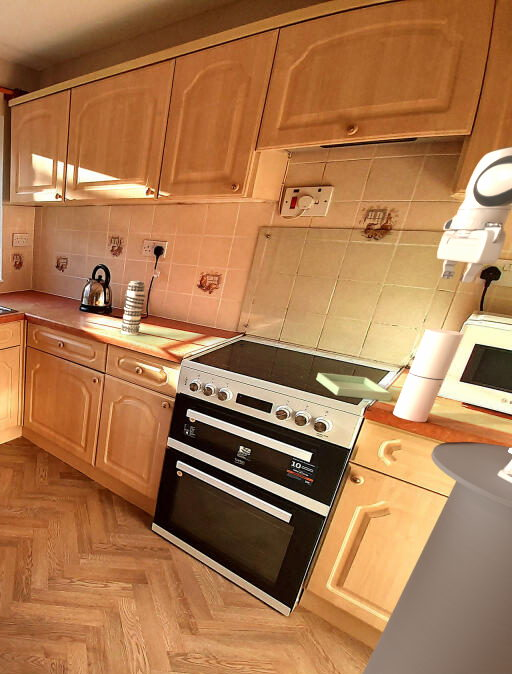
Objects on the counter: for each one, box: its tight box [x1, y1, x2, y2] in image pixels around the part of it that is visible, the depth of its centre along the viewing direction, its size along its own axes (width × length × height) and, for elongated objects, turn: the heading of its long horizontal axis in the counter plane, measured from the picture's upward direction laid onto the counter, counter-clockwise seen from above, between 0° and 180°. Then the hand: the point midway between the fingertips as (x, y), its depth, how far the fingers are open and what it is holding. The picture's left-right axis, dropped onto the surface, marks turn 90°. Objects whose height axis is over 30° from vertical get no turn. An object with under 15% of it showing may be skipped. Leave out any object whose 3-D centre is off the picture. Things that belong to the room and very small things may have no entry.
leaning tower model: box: [120, 279, 146, 336], centre depth 203 cm, size 9×9×25 cm
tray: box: [315, 372, 394, 402], centre depth 140 cm, size 16×15×3 cm
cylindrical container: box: [392, 327, 464, 423], centre depth 117 cm, size 7×7×25 cm
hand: (455, 280), depth 108 cm, fingers open, 8 cm apart
